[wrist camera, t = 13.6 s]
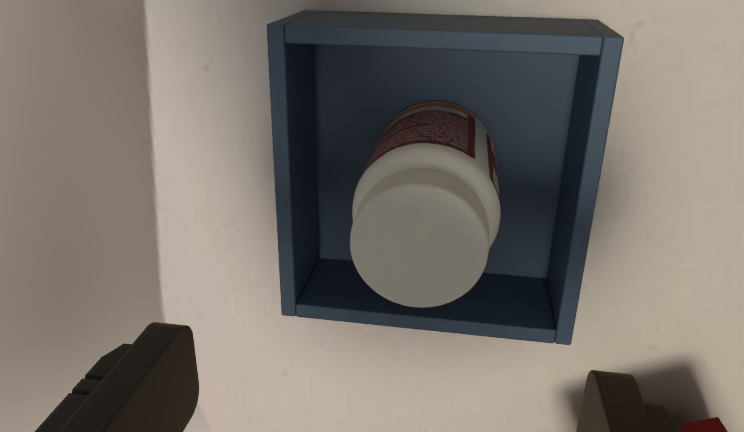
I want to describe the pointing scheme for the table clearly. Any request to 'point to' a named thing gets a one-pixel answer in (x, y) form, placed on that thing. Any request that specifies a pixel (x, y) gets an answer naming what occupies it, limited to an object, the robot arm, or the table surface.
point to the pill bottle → (427, 206)
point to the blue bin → (494, 109)
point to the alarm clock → (704, 426)
